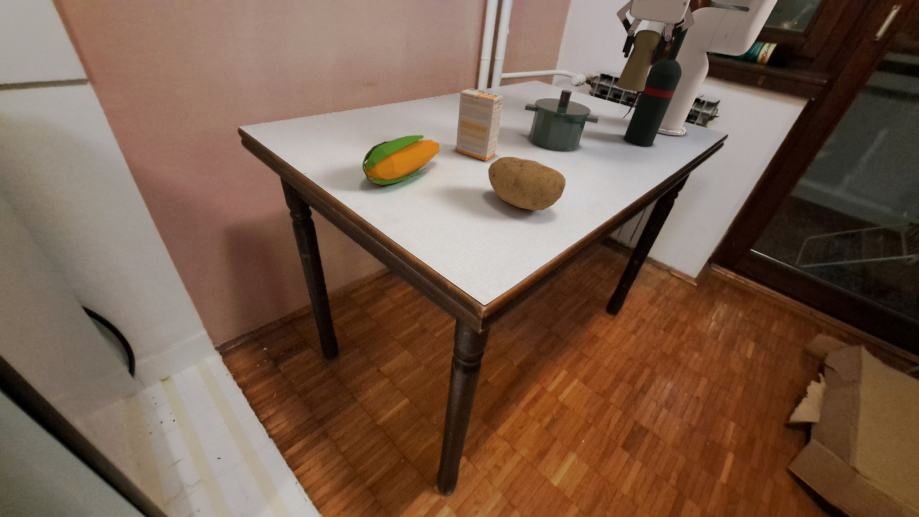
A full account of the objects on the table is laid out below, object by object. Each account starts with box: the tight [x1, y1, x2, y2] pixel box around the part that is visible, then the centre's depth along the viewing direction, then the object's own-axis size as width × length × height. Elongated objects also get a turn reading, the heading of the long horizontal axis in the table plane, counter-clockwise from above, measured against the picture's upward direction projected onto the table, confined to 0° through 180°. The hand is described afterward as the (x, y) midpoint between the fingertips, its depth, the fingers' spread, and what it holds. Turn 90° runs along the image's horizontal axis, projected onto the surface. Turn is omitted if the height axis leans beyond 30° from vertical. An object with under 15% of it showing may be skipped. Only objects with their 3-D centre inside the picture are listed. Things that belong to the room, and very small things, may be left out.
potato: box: [487, 156, 567, 211], centre depth 64 cm, size 10×14×8 cm
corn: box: [361, 134, 441, 186], centre depth 69 cm, size 7×8×20 cm
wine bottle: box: [620, 14, 694, 148], centre depth 93 cm, size 8×10×30 cm
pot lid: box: [534, 89, 592, 117], centre depth 89 cm, size 14×14×5 cm
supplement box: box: [455, 87, 505, 162], centre depth 80 cm, size 8×5×13 cm, turn 57°
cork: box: [615, 29, 662, 92], centre depth 78 cm, size 6×6×11 cm
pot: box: [524, 103, 599, 152], centre depth 93 cm, size 13×18×8 cm
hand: (640, 58), depth 78 cm, fingers closed on cork, 5 cm apart
